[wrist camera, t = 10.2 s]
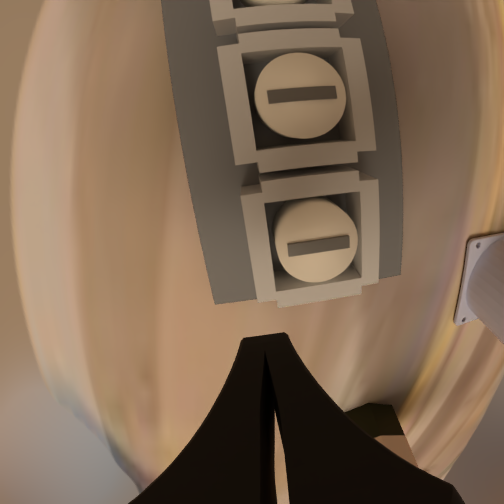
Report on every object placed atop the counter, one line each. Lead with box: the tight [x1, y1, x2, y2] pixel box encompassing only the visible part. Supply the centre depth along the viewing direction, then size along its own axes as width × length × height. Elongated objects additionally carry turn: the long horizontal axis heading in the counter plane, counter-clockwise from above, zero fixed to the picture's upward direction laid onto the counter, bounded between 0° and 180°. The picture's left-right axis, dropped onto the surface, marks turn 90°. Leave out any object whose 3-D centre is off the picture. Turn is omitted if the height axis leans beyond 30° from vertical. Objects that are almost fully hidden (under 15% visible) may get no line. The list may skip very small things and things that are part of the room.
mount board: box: [161, 0, 403, 308], centre depth 14 cm, size 12×22×4 cm, turn 8°
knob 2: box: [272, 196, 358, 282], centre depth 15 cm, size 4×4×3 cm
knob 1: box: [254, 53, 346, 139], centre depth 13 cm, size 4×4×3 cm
